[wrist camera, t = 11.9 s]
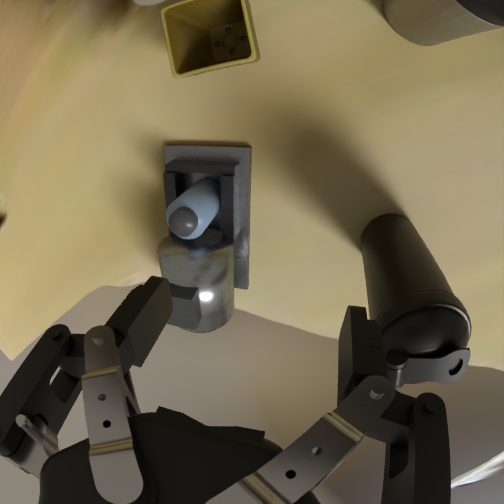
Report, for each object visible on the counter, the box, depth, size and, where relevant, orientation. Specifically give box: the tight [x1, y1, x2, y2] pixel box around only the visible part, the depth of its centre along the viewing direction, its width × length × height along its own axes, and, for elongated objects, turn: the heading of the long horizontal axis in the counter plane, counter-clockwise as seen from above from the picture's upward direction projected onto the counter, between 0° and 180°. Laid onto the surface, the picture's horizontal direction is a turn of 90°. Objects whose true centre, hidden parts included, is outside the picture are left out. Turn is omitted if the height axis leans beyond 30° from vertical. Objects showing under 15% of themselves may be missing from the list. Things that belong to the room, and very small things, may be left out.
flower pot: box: [161, 0, 260, 79], centre depth 26 cm, size 9×9×9 cm
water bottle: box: [361, 214, 471, 390], centre depth 30 cm, size 10×10×23 cm
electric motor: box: [158, 145, 252, 333], centre depth 39 cm, size 24×12×13 cm, turn 179°
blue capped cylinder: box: [166, 179, 221, 239], centre depth 37 cm, size 5×5×9 cm
